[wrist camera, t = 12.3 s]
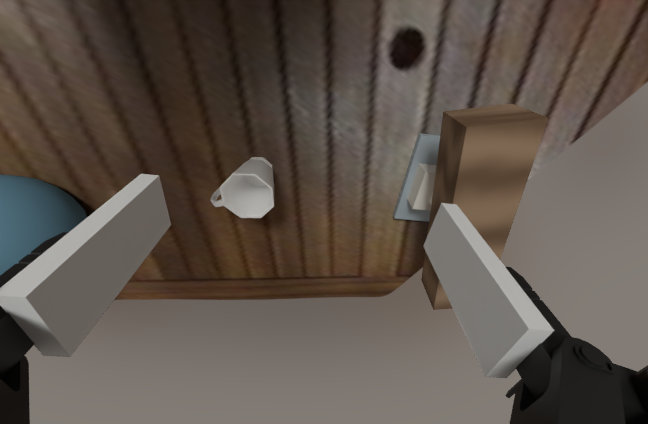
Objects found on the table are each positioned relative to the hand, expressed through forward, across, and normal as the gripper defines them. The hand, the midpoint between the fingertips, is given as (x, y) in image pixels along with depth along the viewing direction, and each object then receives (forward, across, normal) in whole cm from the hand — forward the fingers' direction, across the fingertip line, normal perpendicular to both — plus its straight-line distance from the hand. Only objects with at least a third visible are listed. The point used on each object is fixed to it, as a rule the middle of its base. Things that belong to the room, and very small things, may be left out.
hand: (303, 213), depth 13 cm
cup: (+27, -9, -12) cm, 31 cm away
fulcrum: (+27, +20, -10) cm, 35 cm away
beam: (+19, +20, -10) cm, 29 cm away
